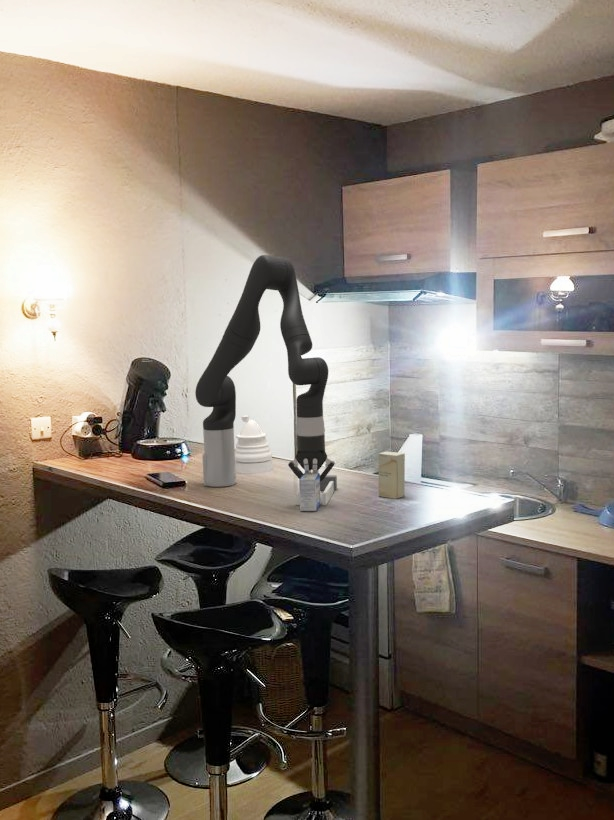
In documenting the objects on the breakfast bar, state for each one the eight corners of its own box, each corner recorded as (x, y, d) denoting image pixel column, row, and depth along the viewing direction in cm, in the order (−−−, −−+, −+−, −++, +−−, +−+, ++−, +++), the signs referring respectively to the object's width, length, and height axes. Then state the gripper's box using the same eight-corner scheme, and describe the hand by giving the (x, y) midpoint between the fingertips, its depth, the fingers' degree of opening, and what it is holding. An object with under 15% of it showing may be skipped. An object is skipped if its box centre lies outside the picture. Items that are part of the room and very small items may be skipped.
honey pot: (230, 473, 273) (227, 419, 271) (238, 466, 286) (235, 413, 284) (269, 473, 272) (267, 418, 270) (275, 466, 285) (273, 413, 282)
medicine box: (316, 511, 218) (315, 479, 217) (299, 511, 219) (298, 478, 218) (320, 503, 226) (320, 472, 225) (304, 503, 227) (303, 472, 225)
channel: (294, 505, 226) (294, 490, 226) (306, 488, 247) (306, 475, 246) (328, 505, 225) (327, 490, 225) (337, 488, 245) (336, 475, 245)
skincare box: (378, 496, 233) (377, 453, 232) (387, 493, 237) (386, 450, 235) (397, 499, 230) (396, 455, 228) (406, 496, 233) (405, 452, 232)
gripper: (283, 435, 222) (286, 499, 224) (333, 434, 220) (335, 499, 223) (288, 430, 229) (290, 492, 232) (336, 430, 227) (338, 492, 230)
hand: (312, 495), depth 227 cm, fingers closed
